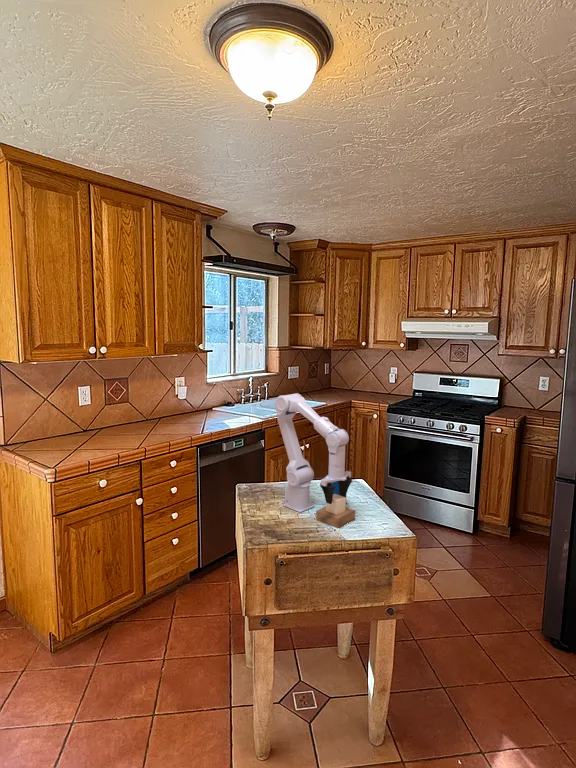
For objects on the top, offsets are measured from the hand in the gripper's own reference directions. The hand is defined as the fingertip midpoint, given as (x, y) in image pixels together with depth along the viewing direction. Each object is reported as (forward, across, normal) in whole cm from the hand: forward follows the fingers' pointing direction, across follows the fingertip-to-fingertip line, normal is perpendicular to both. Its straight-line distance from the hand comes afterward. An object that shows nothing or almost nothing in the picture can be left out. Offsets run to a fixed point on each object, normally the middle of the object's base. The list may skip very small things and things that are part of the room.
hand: (335, 500), depth 163 cm
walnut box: (+8, 0, 0) cm, 8 cm away
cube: (+4, 0, 0) cm, 4 cm away
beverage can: (+8, +11, +8) cm, 16 cm away
